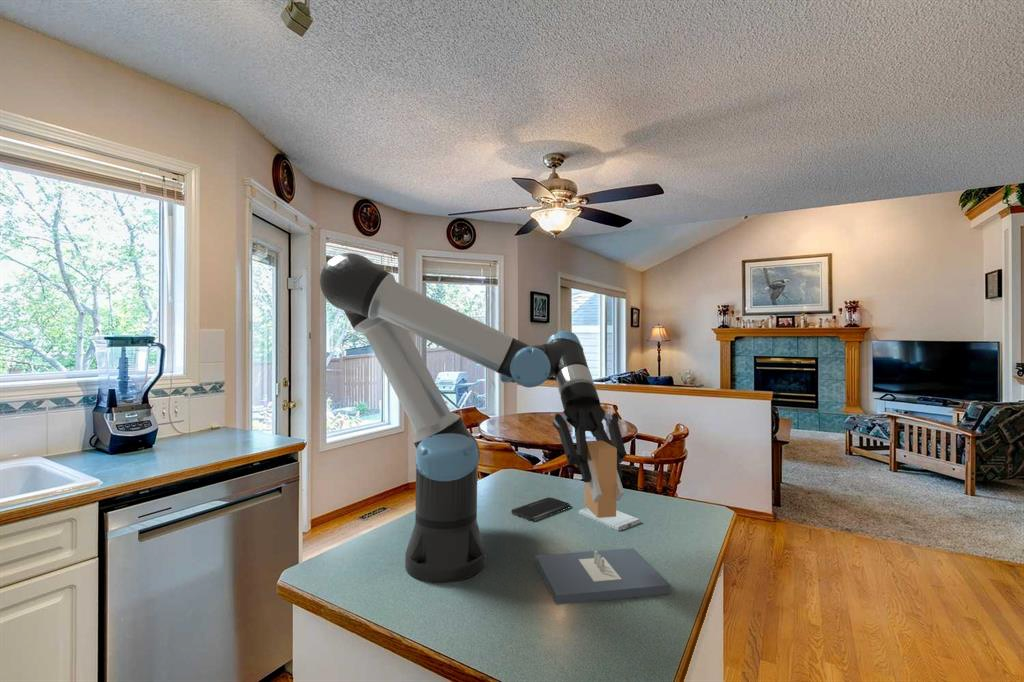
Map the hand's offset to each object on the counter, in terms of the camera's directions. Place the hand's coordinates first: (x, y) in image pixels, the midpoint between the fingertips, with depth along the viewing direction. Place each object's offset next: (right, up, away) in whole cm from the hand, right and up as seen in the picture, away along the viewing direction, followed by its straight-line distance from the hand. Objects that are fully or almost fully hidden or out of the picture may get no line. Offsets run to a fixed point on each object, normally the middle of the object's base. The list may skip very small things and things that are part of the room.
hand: (608, 497), depth 79 cm
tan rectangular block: (-1, -4, +4) cm, 5 cm away
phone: (-9, -16, +36) cm, 41 cm away
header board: (-1, -16, +3) cm, 16 cm away
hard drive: (+7, -17, +31) cm, 36 cm away
